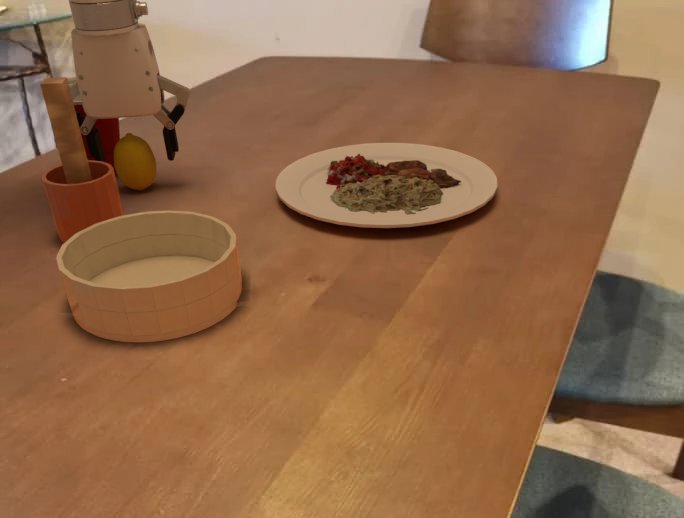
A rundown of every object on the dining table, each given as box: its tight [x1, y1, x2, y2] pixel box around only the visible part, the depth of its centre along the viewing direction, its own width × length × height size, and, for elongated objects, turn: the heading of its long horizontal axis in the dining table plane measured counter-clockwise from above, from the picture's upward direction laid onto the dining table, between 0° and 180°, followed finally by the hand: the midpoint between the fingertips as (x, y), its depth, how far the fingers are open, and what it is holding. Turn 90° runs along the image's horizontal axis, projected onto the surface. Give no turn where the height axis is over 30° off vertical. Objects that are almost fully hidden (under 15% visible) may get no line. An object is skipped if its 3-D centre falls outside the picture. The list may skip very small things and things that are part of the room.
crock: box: [40, 160, 125, 244], centre depth 88 cm, size 8×8×8 cm
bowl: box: [55, 209, 243, 344], centre depth 77 cm, size 18×18×6 cm
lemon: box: [114, 132, 157, 192], centre depth 99 cm, size 6×6×8 cm
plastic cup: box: [40, 75, 121, 175], centre depth 104 cm, size 11×11×12 cm
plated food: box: [275, 142, 498, 229], centre depth 98 cm, size 30×30×3 cm
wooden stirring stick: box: [39, 76, 92, 184], centre depth 85 cm, size 4×4×17 cm
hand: (136, 159), depth 99 cm, fingers open, 9 cm apart
